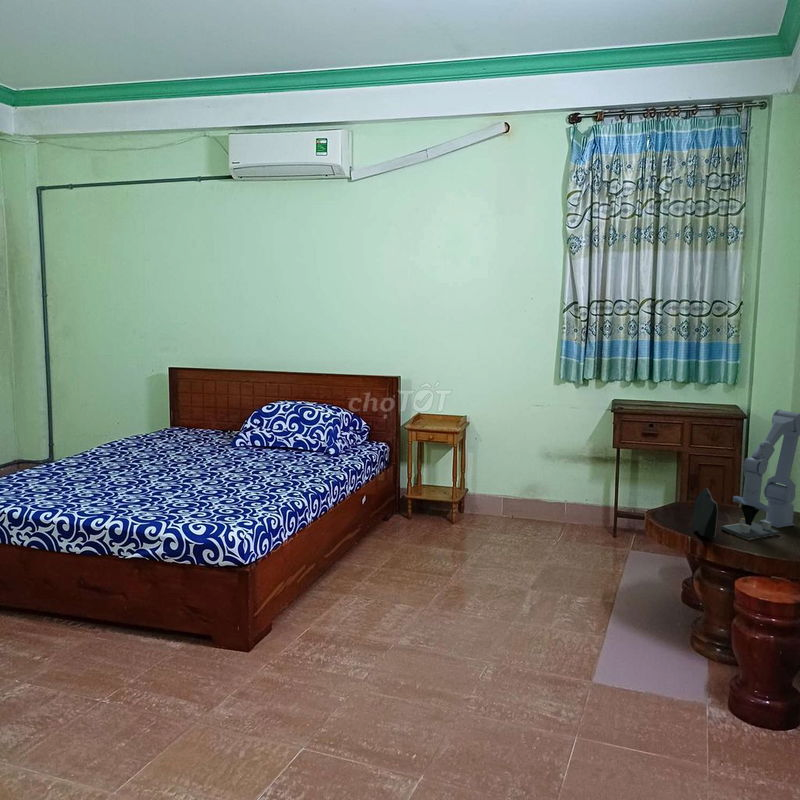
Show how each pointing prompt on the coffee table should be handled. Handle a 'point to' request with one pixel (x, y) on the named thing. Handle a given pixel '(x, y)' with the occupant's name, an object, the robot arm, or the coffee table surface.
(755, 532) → the breaker board
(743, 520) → the block
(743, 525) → the block
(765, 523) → the breaker
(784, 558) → the coffee table surface
